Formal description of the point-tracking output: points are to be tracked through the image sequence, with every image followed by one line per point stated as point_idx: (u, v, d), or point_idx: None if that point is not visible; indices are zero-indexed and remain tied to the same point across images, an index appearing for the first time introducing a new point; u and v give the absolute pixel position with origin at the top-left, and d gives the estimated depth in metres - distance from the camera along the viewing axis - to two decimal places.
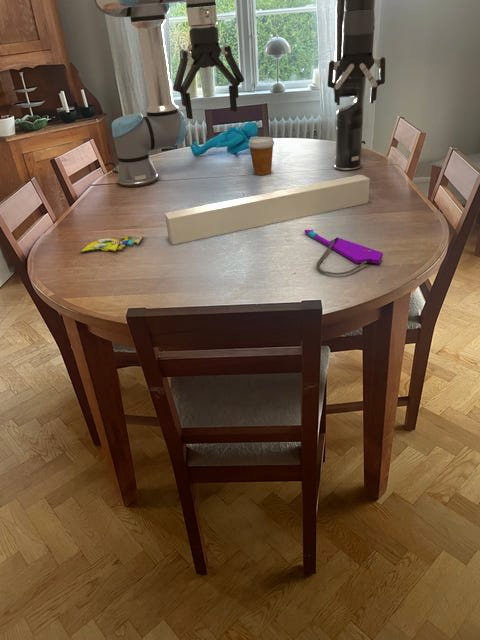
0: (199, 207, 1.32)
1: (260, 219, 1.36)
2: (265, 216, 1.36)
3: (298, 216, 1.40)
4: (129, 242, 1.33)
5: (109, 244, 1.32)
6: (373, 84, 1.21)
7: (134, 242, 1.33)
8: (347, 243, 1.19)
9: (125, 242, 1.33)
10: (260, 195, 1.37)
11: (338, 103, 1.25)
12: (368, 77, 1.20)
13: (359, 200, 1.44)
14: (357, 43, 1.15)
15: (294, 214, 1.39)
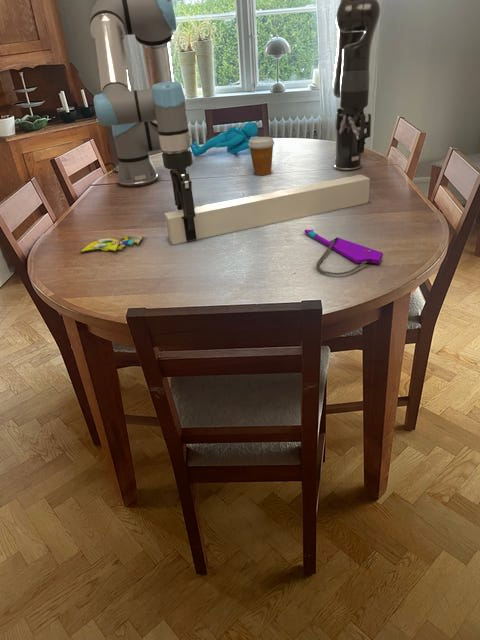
0: (199, 207, 1.32)
1: (260, 219, 1.36)
2: (265, 215, 1.36)
3: (298, 216, 1.40)
4: (129, 242, 1.33)
5: (109, 244, 1.32)
6: (356, 136, 1.32)
7: (134, 242, 1.33)
8: (347, 243, 1.19)
9: (125, 242, 1.33)
10: (260, 195, 1.37)
11: (340, 145, 1.41)
12: (353, 129, 1.32)
13: (359, 200, 1.44)
14: (341, 98, 1.29)
15: (294, 213, 1.39)
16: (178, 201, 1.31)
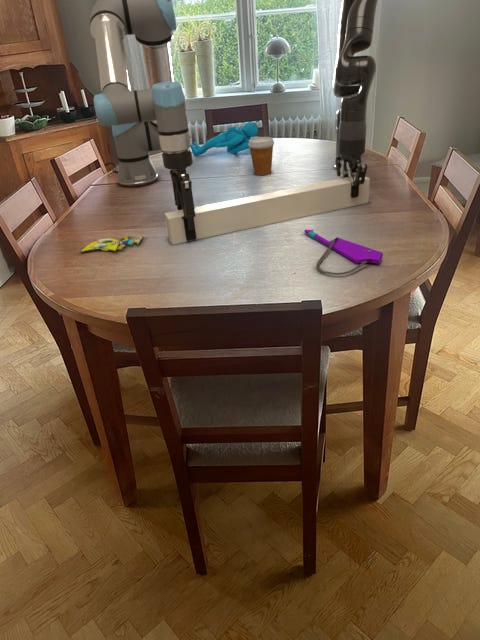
0: (199, 207, 1.32)
1: (260, 219, 1.36)
2: (265, 215, 1.36)
3: (298, 216, 1.40)
4: (129, 242, 1.33)
5: (109, 244, 1.32)
6: (351, 182, 1.40)
7: (134, 242, 1.33)
8: (347, 243, 1.19)
9: (125, 242, 1.33)
10: (260, 195, 1.37)
11: None
12: (349, 175, 1.39)
13: (359, 200, 1.44)
14: (340, 146, 1.36)
15: (294, 213, 1.39)
16: (178, 201, 1.31)
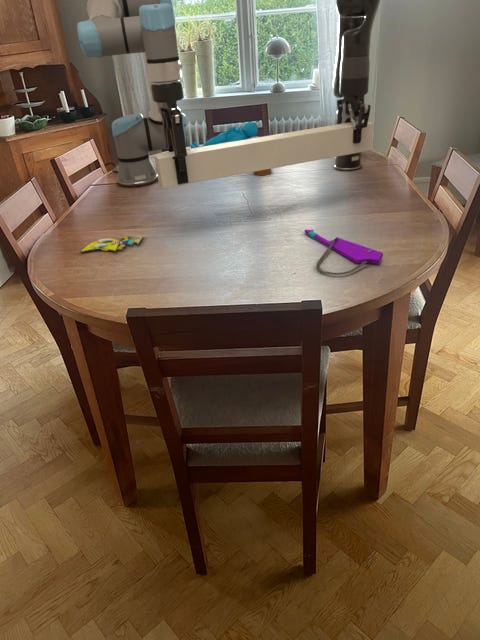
0: (191, 149, 1.24)
1: (257, 164, 1.28)
2: (261, 160, 1.28)
3: (297, 162, 1.32)
4: (129, 242, 1.33)
5: (109, 244, 1.32)
6: (353, 126, 1.32)
7: (134, 242, 1.33)
8: (347, 243, 1.19)
9: (125, 242, 1.33)
10: (256, 138, 1.28)
11: None
12: (351, 118, 1.31)
13: (362, 147, 1.36)
14: (341, 85, 1.28)
15: (292, 159, 1.31)
16: (169, 142, 1.22)
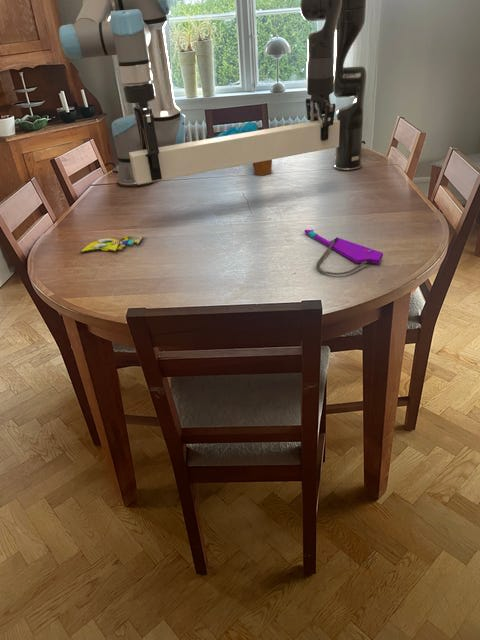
0: (164, 147, 1.30)
1: (228, 161, 1.34)
2: (232, 157, 1.34)
3: (267, 158, 1.38)
4: (129, 242, 1.33)
5: (109, 244, 1.32)
6: (320, 124, 1.38)
7: (134, 242, 1.33)
8: (347, 243, 1.19)
9: (125, 242, 1.33)
10: (227, 136, 1.35)
11: None
12: (318, 116, 1.37)
13: (330, 143, 1.42)
14: (308, 85, 1.34)
15: (262, 156, 1.37)
16: (142, 140, 1.29)
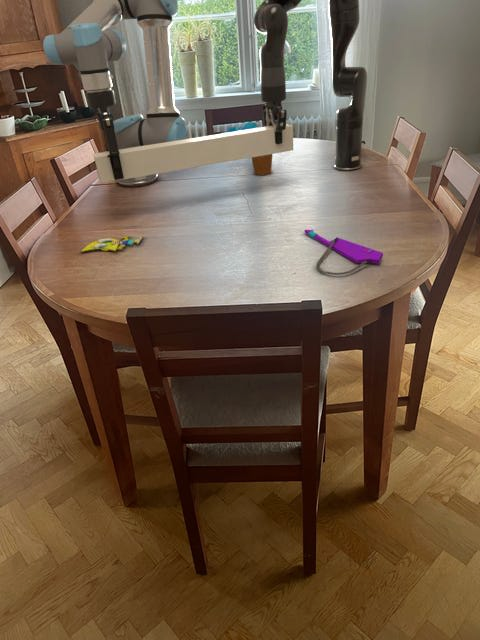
0: (127, 149, 1.40)
1: (186, 162, 1.44)
2: (190, 158, 1.44)
3: (224, 160, 1.48)
4: (129, 242, 1.33)
5: (109, 244, 1.32)
6: None
7: (134, 242, 1.33)
8: (347, 243, 1.19)
9: (125, 242, 1.33)
10: (186, 139, 1.45)
11: None
12: (272, 121, 1.47)
13: (284, 147, 1.52)
14: (261, 93, 1.44)
15: (219, 158, 1.47)
16: (106, 142, 1.39)
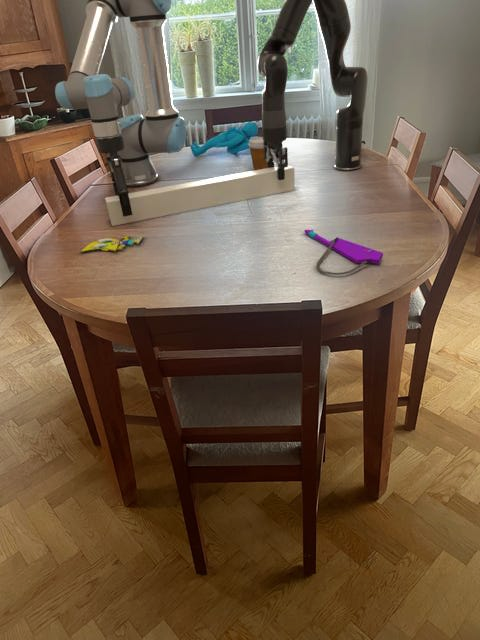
0: (136, 192, 1.48)
1: (193, 204, 1.52)
2: (197, 200, 1.51)
3: (229, 201, 1.55)
4: (129, 242, 1.33)
5: (109, 244, 1.32)
6: (277, 166, 1.53)
7: (134, 242, 1.33)
8: (347, 243, 1.19)
9: (125, 242, 1.33)
10: (193, 182, 1.52)
11: None
12: (274, 160, 1.53)
13: (286, 187, 1.60)
14: (263, 133, 1.51)
15: (224, 199, 1.54)
16: (112, 176, 1.47)
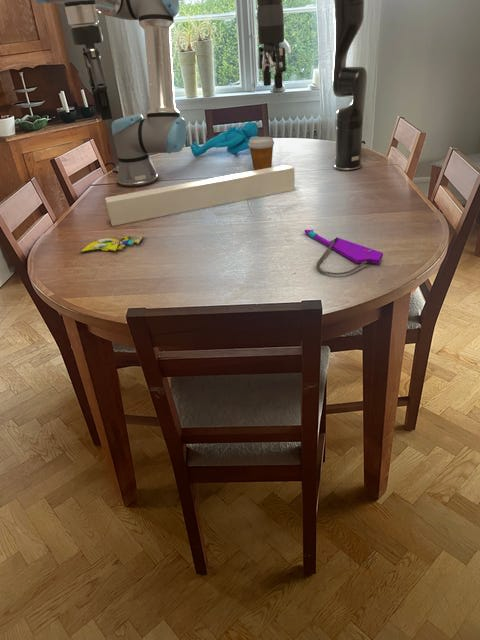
0: (136, 192, 1.48)
1: (193, 204, 1.52)
2: (197, 200, 1.51)
3: (229, 201, 1.55)
4: (129, 242, 1.33)
5: (109, 244, 1.32)
6: (274, 71, 1.38)
7: (134, 242, 1.33)
8: (347, 243, 1.19)
9: (125, 242, 1.33)
10: (193, 182, 1.52)
11: (264, 84, 1.47)
12: (270, 64, 1.38)
13: (286, 187, 1.60)
14: (258, 34, 1.36)
15: (224, 199, 1.54)
16: (91, 79, 1.32)
